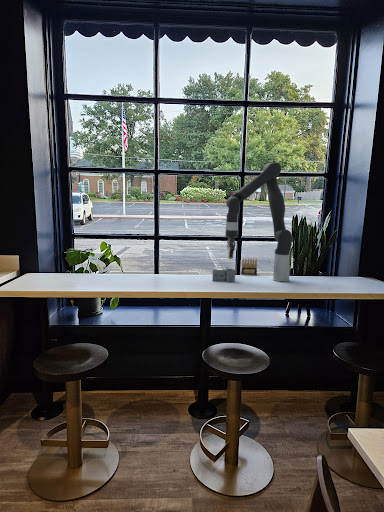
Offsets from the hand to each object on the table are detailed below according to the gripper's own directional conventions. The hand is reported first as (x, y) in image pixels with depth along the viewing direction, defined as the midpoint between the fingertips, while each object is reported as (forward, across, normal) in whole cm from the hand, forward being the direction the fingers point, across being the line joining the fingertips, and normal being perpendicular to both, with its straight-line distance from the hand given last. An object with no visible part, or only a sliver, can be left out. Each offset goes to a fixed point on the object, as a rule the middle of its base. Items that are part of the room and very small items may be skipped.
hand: (230, 256), depth 219 cm
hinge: (+16, +4, +4) cm, 16 cm away
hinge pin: (+1, 0, 0) cm, 1 cm away
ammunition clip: (+16, +19, -18) cm, 31 cm away
